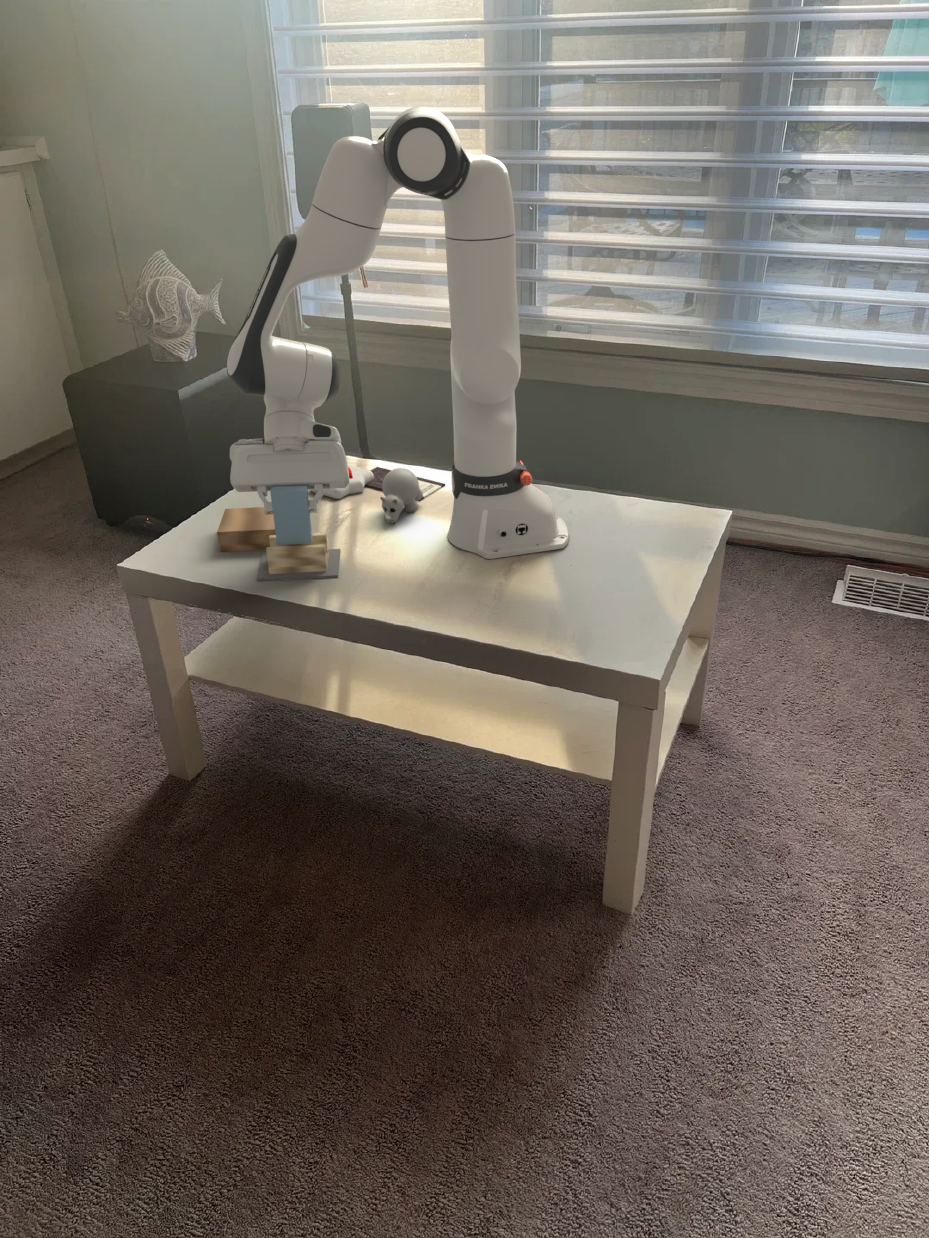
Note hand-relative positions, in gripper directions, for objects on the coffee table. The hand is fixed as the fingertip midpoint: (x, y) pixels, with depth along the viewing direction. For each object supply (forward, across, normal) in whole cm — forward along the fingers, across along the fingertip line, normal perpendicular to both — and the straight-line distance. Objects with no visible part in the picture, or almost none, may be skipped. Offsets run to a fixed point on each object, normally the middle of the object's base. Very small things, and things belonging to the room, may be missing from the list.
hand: (291, 512), depth 157 cm
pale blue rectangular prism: (+4, 0, +4) cm, 6 cm away
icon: (-16, +7, +32) cm, 37 cm away
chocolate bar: (-17, +18, +32) cm, 41 cm away
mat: (+7, 0, +8) cm, 11 cm away
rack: (+7, 0, +8) cm, 11 cm away
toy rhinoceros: (-7, +18, +22) cm, 29 cm away
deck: (-1, -9, +16) cm, 19 cm away
